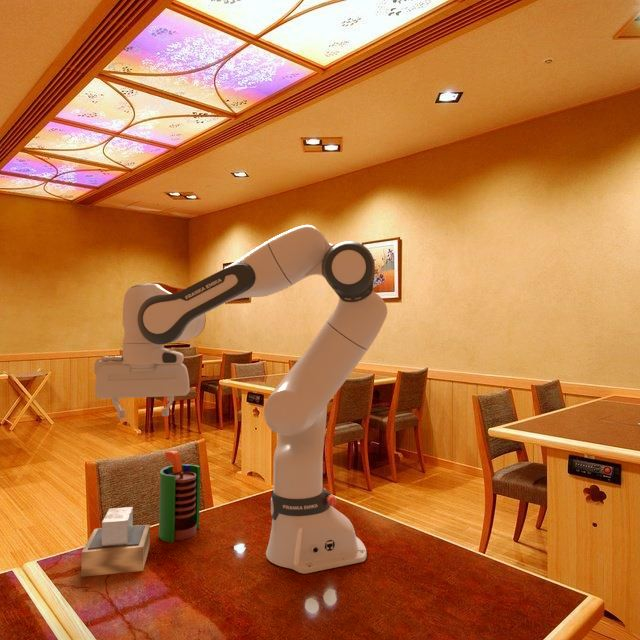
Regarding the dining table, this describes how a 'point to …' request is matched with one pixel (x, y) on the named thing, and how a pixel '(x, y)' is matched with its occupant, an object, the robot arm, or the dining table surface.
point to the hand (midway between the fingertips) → (143, 416)
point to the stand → (116, 553)
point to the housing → (117, 526)
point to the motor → (178, 499)
